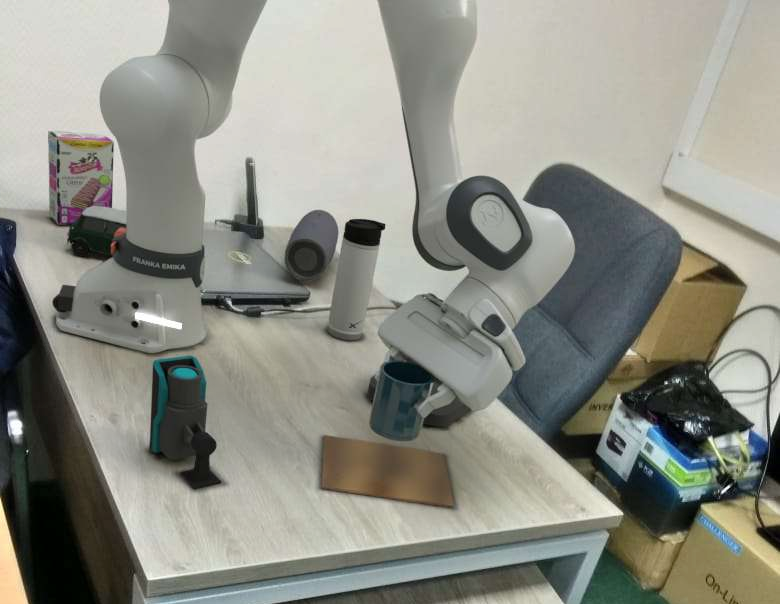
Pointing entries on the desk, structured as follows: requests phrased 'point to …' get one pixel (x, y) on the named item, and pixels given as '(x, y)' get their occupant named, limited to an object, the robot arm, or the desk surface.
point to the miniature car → (95, 230)
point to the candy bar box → (78, 174)
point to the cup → (399, 400)
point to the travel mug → (354, 278)
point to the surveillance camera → (182, 417)
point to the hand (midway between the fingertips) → (398, 397)
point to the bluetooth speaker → (312, 245)
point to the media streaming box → (436, 416)
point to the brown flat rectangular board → (385, 471)
